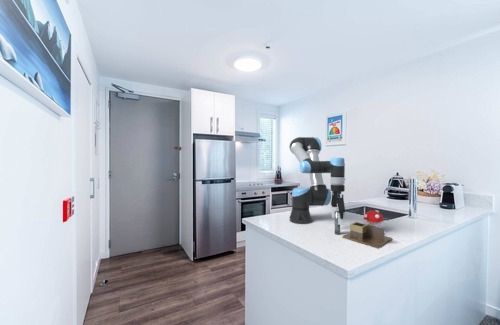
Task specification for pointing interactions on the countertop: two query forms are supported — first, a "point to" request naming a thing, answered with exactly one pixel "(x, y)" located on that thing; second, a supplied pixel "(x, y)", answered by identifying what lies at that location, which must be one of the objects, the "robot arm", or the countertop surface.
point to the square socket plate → (367, 234)
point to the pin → (337, 226)
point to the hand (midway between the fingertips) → (337, 221)
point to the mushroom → (374, 218)
